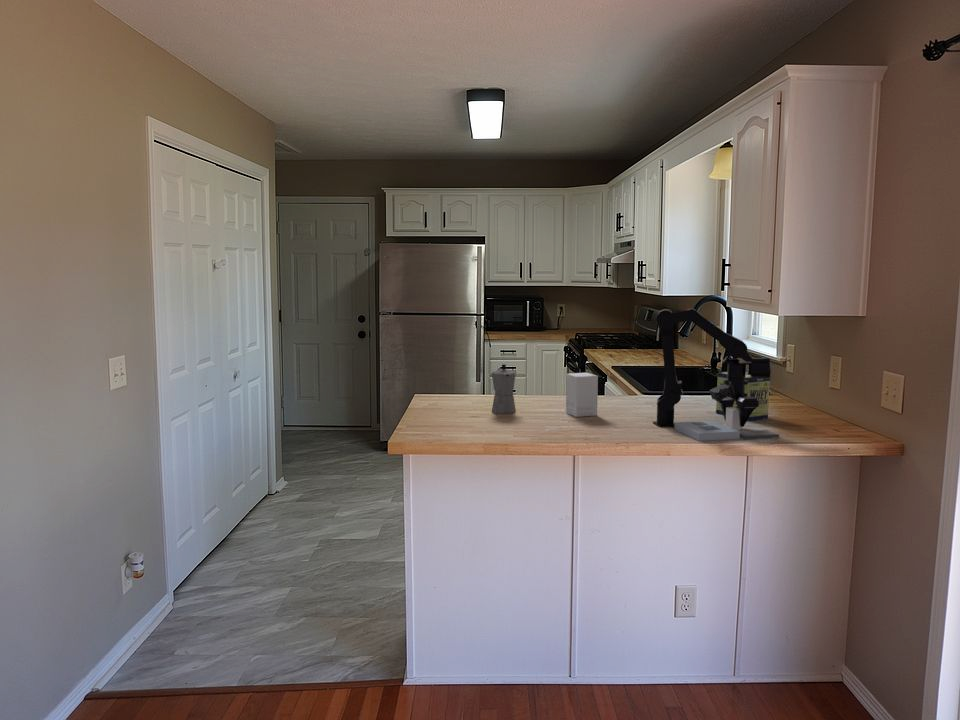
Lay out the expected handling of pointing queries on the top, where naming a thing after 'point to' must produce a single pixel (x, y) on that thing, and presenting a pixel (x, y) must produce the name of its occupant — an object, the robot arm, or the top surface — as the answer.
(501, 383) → the coffeepot
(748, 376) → the protein box
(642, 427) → the top surface
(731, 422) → the charger
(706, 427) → the plate
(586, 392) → the supplement box
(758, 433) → the phone
